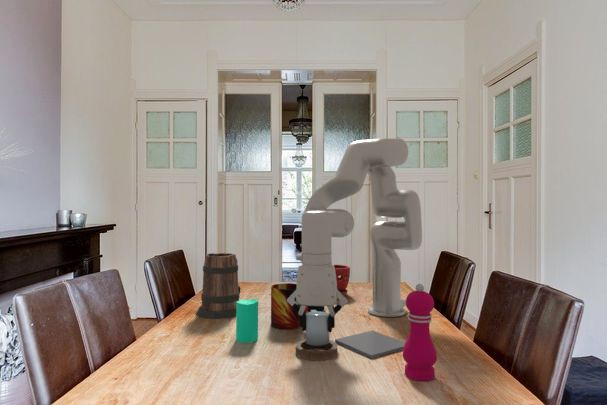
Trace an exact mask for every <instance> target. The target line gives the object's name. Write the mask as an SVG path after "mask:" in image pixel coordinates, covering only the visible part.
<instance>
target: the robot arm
mask: <svg viewBox="0 0 607 405" xmlns="http://www.w3.org/2000/svg"><path fill="white" fill-rule="evenodd" d="M408 157H409V147H408V144H407V142H406V141H405V140H404V139H403V138H400V137H398V138H397V137H395V138H387V137H386V138H371V139H359V140H356V141H353V142H351V143H349V145H348V146H347V147H346V149H345V151H344V154H343V156H342V159H341V160H340V162H339V165H338V168H337V169H336V170H337V171H336V173H335V174H334V177H333V176H332V178H330V179H329V180H328V181H325V183H323V185H322V186H321V187H320V186H319V188H318V189H316V190H315V191H314V192H313V194H312V195H311V196H310V197H309V200H308V202H307V204H306V206H305V208H304V211H303V213H302V215H301V253H300V254H296V255H295V256H296V258H295V260H296V261H300V262H301V263H300V264H298V269H297V276H296V284H297V287H296V290H295V291H294V292H293V293H292V294H291V295H290V296H289V297H288V299H287V302H288V303H289V304H290V305H291V306H293V308H294V309H295V310H296V311H297V312H298V314H299V315H300V328H301V327H302V328H301V331H302V332H306V312H305V308H306V306H325V307H327V310H328V313H329V316H328V332H329V333H332V330H333V329H335V326H336V325H335V318H336V317H335V315H336V314H338V313H339V312H340V311H341V309H342V308H344V307H345V305H347V303H348V301H349V300H348V299H347V298H346V297H345V295H344V296H343V295H342V294H341V293H340V292H339V291H338V290H337V281H336V272H335V267H334V265H335V264H333V263H332V260H333V259H332V257H333V256H332V255H333V254H332V238H345V237H347V236H349V235H350V234H351V233H352V232H353V230H354V227H355V219H354V217H353V215H352V213H350V212H349V211H348V210H345V209H341V208H339V209H338V208H329V207H330V206H332V205H334V204H335V203H337V202H339V201H341V200H344V199H346V198H350V197H351V196H354V195H356V194H357V193H359V192H360V191H361V190H362V188H363V186H364V183H365V180H366V178H367V175H368V176H369V180H370V190H371V191H370V193H371V203H372V204H371V205H372V210H373V214H374V215H375V216H376V217H379V218H386V219H387V218H388V219H402V220H404V221H397V220H393V221H392V220H380V221H377V222H375V223H374V224H372V225H371V227H370V230H369V231H370V232H369V236H370V238H369V239H370V243H371V244H370V245H371V250H372V252H371V253H372V305H371V306H368V307H367V312H368V313H369V314H370V315H373V316H376V317H377V316H378V317H383V318H396V317H397V318H398V317H402V316H404V315H405V314H406V309H405V307H406V299H404V298H402V296H401V295H402V294H401V290H402V289H401V288H402V287H401V286H402V285H401V284H402V279H401V276H402V267H401V266H402V262H401V259H400V257H399V255H398V253H397V252H396V250H402V251H415V250H416V251H417V250H418V249H419V248H420V247H421V246H422V244H423V243H422V242H423V227H422V225H423V224H422V208H421V200H420V196H419V194H418V193H417V192H416V191H415V190H413V189H398V188H397V187H398V186H397V178H396V174H395V171H394V170H393V168H392V167H397V166H398V167H399V166H402V165H404V164H405V163H406V161H407V160H408ZM295 297H296V301H297V302H296V301H295V300H294V298H295ZM338 299H339V303H338V304H337V300H338ZM300 305H301V306H300Z"/></svg>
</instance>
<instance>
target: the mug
mask: <svg viewBox="0 0 607 405" xmlns="http://www.w3.org/2000/svg"><path fill="white" fill-rule="evenodd" d="M296 287H297V283H291V282H290V283H289V282H287V283H286V282H284V283H275V284H272V285H271V286H270V326H271V328H273V329H276V330H281V331H290V330H291V331H292V330H298V329H300V328H301V329H302V327H300V315H299V314H298V312H297V311H296V310H295V309H294V308H293V306H291V305H290V304H289V303H288V302H287V299H288V297H289V296H290V295H291V294H292V293H293V292H294V291H295V290H296ZM294 300H295V301H296V297H295V298H294ZM296 302H297V301H296ZM300 306H301V305H300ZM305 312H306V313H308V306H306V308H305Z"/></svg>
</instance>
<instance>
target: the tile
mask: <svg viewBox="0 0 607 405" xmlns="http://www.w3.org/2000/svg"><path fill="white" fill-rule="evenodd" d="M334 342H335V343H336V344H337V345H340V346H342V347H344V348H346V349H348V350H351V351H353V352H355V353H358V354H360V355H362V356H365V357H367V358H369V359H371V360H372V359H375V358H379V357H383V356H385V355H386V356H387V355H389V354H393V353H396V352H399V351H403V348H404V345H405V343H406V341H403V340H400V339H398V338H394V337H392V336H389V335H386V334H383V333H380V332H378V331H376V330H370V331H365V332H359V333H356V334H351V335H348V336H344V337H339V338H336V339H334Z"/></svg>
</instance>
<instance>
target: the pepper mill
mask: <svg viewBox="0 0 607 405" xmlns="http://www.w3.org/2000/svg"><path fill="white" fill-rule="evenodd" d="M424 290H425V286H424V285H423V284H422V283H418V284H416V285H415V290H413V291H411V292H410V293H409V294H408V295H407V296H406V299H405V300H406V305H405V307H406V308H407V309H408V311H409V312H407V315H408V317H407V319H408V321H409V333H408V336H407V339H406V340H405V342H406V343H405V345H404V348H403V350H402V358H403V360H404V361H405V365H404V375H405V377H407V379H408V378H409V379H411V380H412V381H413V380H414V381H417V382H429V381H432V380H434V378H435V368H434V365H435V364H436V363H437V361H438V360H437V359H438V357H437V356H438V353H437V350H436V347H435V344H434V342H433V340H432V336H431V333H430V324H431V323H432V321H433V320H432V313H431V312H432V311H433V310H434V308H435V301H434V297H433V296H432V294H430V293H429V292H426V291H424Z"/></svg>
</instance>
